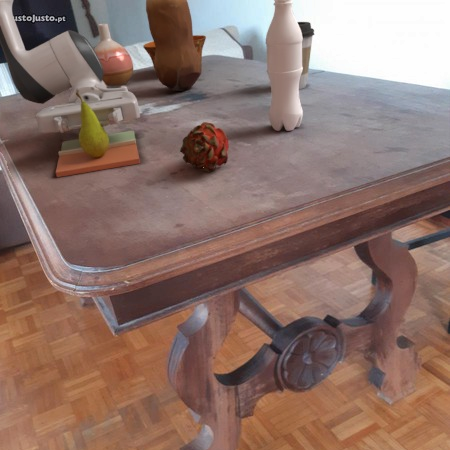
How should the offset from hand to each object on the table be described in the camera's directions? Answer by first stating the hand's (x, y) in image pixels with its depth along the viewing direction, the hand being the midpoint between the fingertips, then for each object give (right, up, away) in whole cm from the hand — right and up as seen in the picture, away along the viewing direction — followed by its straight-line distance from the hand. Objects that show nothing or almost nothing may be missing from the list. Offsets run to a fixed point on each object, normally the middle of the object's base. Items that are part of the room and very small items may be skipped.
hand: (88, 123), depth 90 cm
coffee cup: (+45, +25, +40) cm, 65 cm away
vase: (-10, +37, +65) cm, 75 cm away
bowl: (+10, +45, +73) cm, 87 cm away
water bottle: (+39, +3, +12) cm, 41 cm away
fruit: (+1, -5, +5) cm, 7 cm away
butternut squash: (+13, +29, +51) cm, 60 cm away
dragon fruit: (+23, -9, -3) cm, 25 cm away
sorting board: (0, -3, +9) cm, 10 cm away
